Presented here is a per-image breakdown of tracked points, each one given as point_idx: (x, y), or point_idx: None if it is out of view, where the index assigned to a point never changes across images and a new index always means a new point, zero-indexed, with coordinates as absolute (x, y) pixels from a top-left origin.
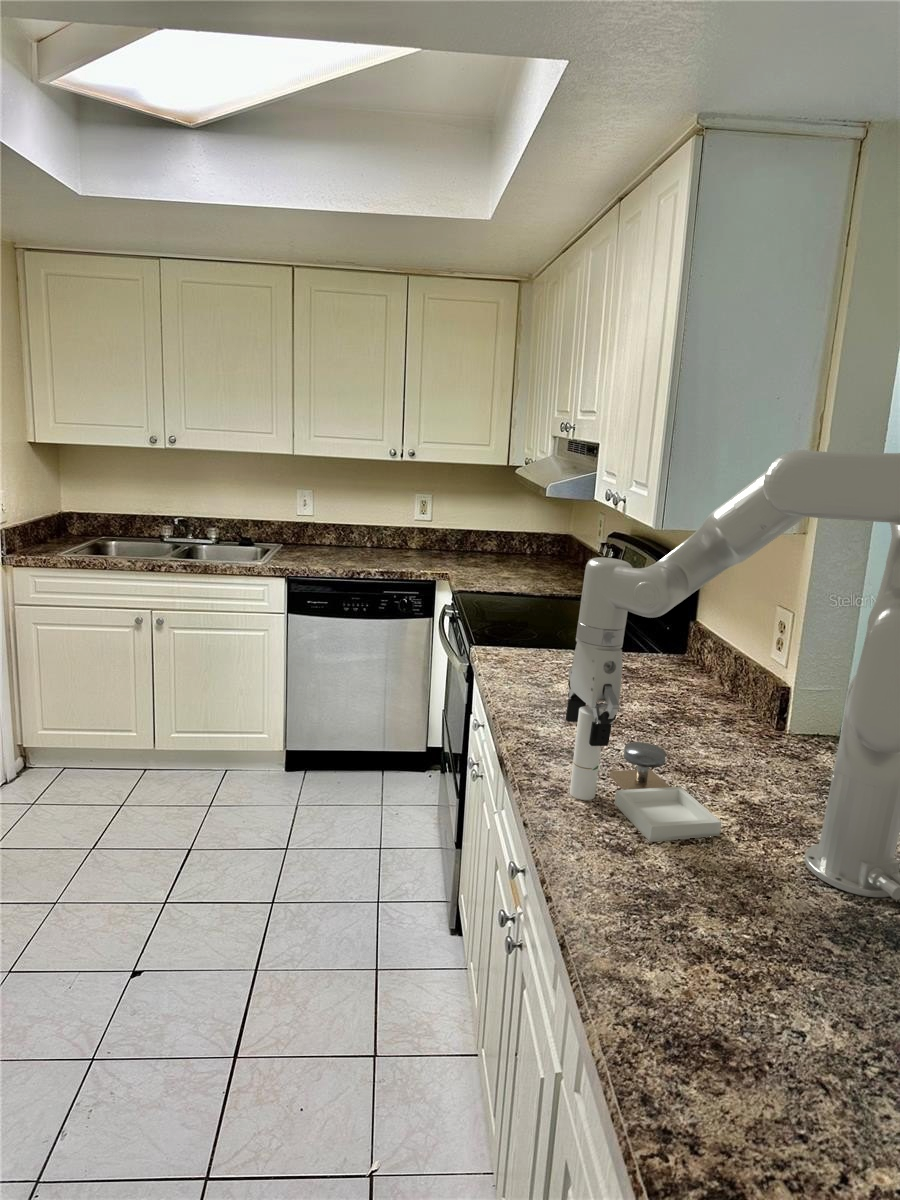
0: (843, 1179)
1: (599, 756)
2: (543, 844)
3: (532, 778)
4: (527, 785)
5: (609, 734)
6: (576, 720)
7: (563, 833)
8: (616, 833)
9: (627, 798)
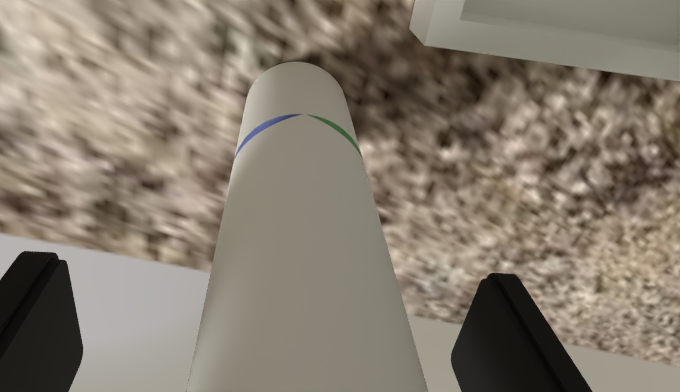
0: None
1: (357, 166)
2: None
3: (143, 223)
4: (197, 256)
5: (552, 335)
6: (71, 311)
7: None
8: (570, 141)
9: (507, 40)
